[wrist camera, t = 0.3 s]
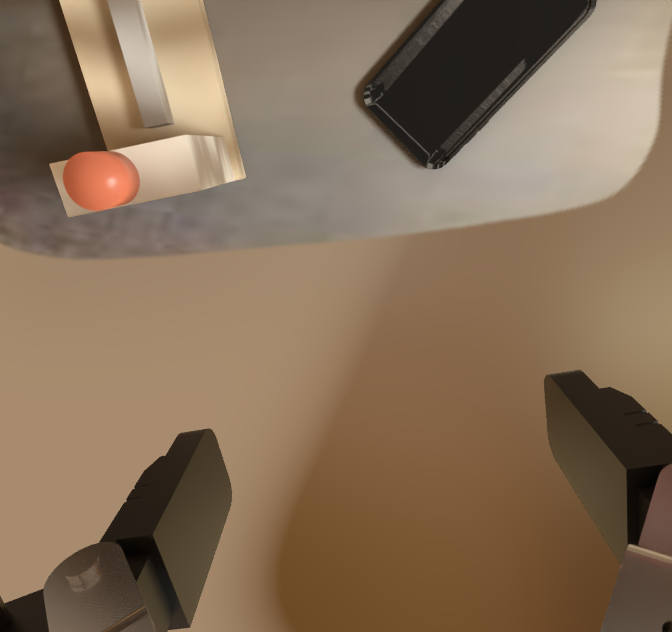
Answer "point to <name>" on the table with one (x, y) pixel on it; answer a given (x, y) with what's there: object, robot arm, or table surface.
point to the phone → (466, 69)
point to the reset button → (101, 180)
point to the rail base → (176, 66)
